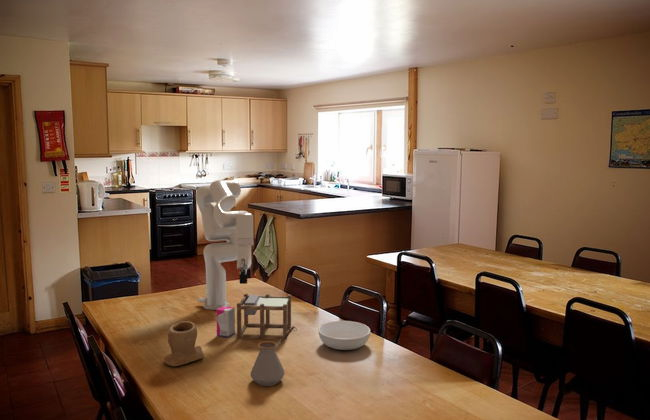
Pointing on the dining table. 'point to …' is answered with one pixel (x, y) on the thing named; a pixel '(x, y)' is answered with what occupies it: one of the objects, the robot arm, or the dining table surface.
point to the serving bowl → (344, 334)
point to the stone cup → (183, 344)
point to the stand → (285, 325)
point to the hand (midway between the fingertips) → (245, 280)
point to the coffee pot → (268, 363)
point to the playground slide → (263, 302)
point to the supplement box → (225, 321)
